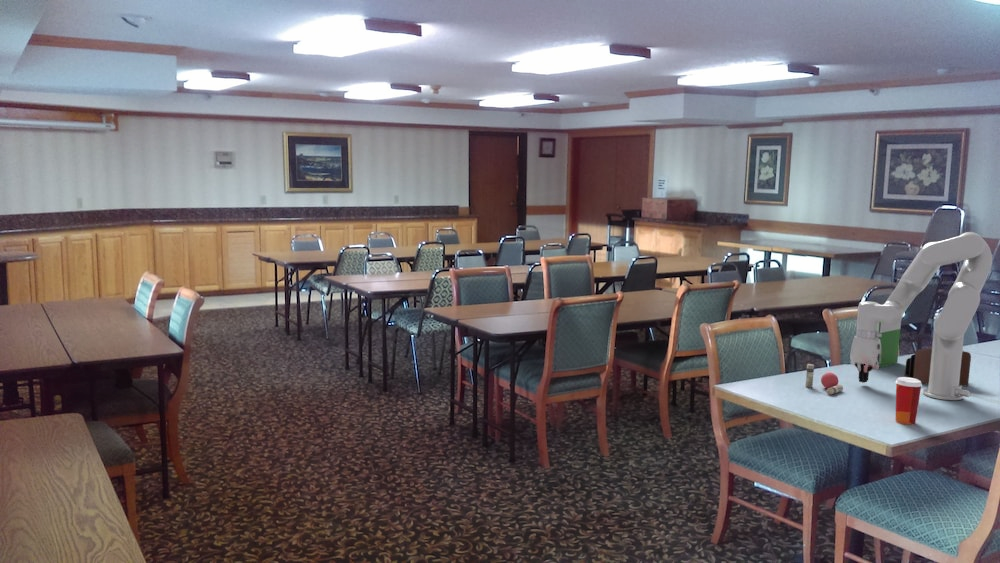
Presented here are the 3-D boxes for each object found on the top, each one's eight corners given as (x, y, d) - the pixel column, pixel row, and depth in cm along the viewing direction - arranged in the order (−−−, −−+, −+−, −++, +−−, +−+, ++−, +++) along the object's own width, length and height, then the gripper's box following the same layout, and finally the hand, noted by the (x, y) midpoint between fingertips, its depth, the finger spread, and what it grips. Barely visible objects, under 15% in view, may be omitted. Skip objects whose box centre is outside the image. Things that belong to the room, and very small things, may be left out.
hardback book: (877, 368, 322) (881, 311, 319) (859, 364, 328) (864, 309, 325) (897, 362, 333) (902, 308, 329) (880, 359, 338) (884, 305, 335)
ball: (841, 388, 284) (841, 372, 285) (825, 387, 283) (825, 371, 284) (833, 390, 289) (833, 374, 291) (818, 388, 289) (817, 372, 290)
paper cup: (912, 419, 251) (916, 377, 250) (923, 426, 244) (927, 383, 242) (887, 417, 252) (891, 376, 250) (897, 425, 245) (901, 382, 243)
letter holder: (968, 386, 295) (972, 350, 293) (912, 383, 299) (916, 347, 297) (958, 380, 305) (961, 345, 303) (904, 377, 308) (907, 342, 307)
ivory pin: (842, 383, 283) (831, 387, 278) (844, 390, 283) (833, 394, 277) (835, 385, 285) (825, 388, 279) (837, 391, 285) (827, 395, 279)
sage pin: (813, 387, 289) (815, 365, 288) (810, 388, 287) (811, 365, 286) (807, 385, 291) (809, 363, 290) (804, 386, 289) (805, 364, 288)
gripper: (891, 336, 287) (887, 384, 289) (853, 330, 299) (849, 376, 301) (881, 338, 282) (877, 387, 285) (842, 332, 294) (839, 378, 296)
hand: (863, 381), depth 293 cm, fingers closed
